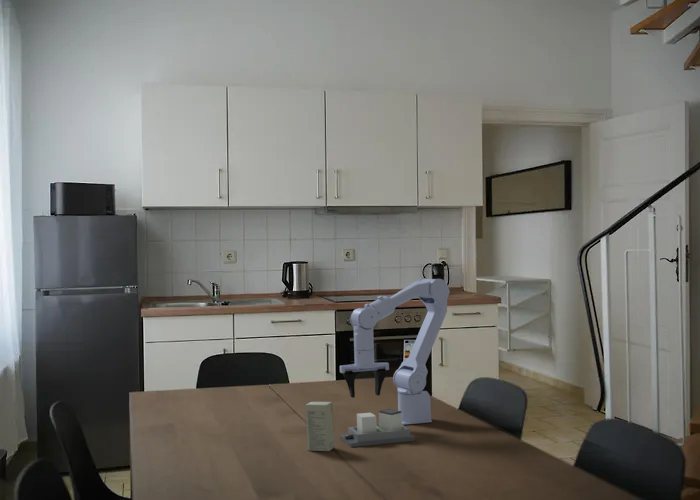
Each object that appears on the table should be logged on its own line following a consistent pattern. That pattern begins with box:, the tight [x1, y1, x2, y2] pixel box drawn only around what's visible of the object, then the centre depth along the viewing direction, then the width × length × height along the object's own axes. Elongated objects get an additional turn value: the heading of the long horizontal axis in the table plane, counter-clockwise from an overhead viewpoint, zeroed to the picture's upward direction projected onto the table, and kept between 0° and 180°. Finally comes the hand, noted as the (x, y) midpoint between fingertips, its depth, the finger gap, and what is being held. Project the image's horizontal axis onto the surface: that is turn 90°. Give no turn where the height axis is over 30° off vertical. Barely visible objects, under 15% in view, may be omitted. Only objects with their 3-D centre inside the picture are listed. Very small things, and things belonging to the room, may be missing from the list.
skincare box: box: [304, 401, 335, 452], centre depth 199 cm, size 6×4×12 cm
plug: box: [378, 408, 402, 431], centre depth 208 cm, size 4×5×6 cm
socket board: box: [340, 412, 416, 448], centre depth 207 cm, size 18×10×7 cm, turn 106°
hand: (365, 395), depth 221 cm, fingers open, 7 cm apart
